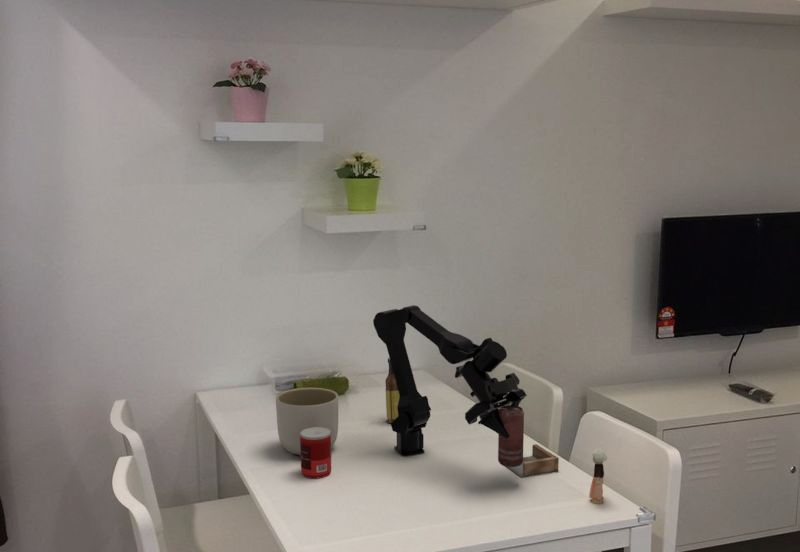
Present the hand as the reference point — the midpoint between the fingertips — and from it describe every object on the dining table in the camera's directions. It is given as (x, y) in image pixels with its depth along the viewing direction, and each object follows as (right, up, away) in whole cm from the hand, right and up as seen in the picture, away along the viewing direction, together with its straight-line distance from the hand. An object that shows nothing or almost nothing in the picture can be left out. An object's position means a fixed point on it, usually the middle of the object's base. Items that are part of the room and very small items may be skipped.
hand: (515, 434), depth 221 cm
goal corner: (+5, -11, +14) cm, 19 cm away
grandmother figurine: (+18, -15, -7) cm, 25 cm away
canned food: (-50, -12, +11) cm, 52 cm away
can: (-1, -8, +2) cm, 8 cm away
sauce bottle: (-29, -5, +50) cm, 58 cm away
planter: (-53, -9, +28) cm, 61 cm away
